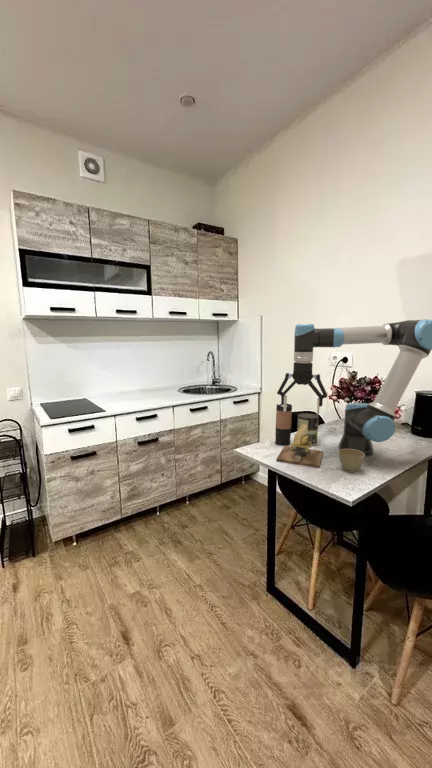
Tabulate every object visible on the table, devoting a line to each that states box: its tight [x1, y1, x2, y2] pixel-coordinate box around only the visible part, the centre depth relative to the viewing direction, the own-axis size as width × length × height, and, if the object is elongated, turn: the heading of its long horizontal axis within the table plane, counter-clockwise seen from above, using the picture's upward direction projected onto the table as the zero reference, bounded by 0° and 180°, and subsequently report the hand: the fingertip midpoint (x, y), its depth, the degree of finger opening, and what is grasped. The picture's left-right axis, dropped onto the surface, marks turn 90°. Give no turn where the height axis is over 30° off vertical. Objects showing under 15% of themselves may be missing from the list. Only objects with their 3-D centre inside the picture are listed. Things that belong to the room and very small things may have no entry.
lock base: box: [275, 445, 324, 469], centre depth 149 cm, size 18×18×6 cm
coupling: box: [289, 424, 312, 452], centre depth 148 cm, size 18×8×9 cm, turn 155°
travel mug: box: [275, 402, 293, 447], centre depth 166 cm, size 8×8×20 cm
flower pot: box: [338, 449, 366, 473], centre depth 137 cm, size 10×10×7 cm
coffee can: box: [296, 412, 320, 447], centre depth 169 cm, size 10×10×14 cm
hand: (301, 412), depth 140 cm, fingers open, 13 cm apart
